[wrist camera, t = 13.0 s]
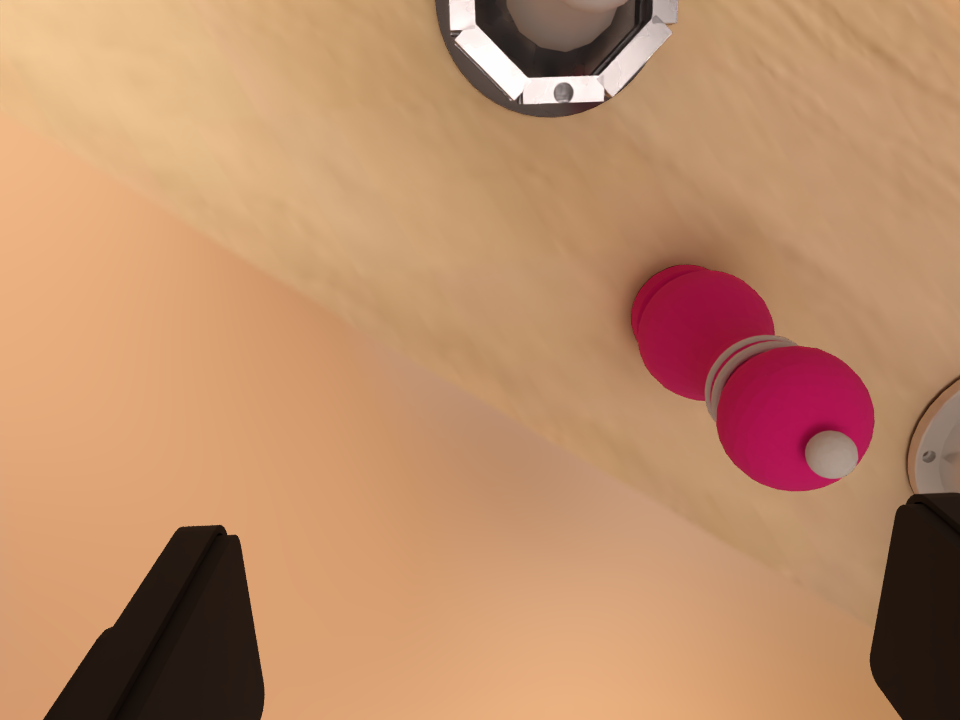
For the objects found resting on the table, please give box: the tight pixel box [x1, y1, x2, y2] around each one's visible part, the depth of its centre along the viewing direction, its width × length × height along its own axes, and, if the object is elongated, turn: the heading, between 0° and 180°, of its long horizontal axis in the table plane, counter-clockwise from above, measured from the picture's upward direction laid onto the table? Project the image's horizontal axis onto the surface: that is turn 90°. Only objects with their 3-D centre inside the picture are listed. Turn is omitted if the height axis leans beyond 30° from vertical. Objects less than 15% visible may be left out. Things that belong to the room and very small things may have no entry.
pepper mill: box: [631, 265, 874, 491], centre depth 35 cm, size 7×7×20 cm
